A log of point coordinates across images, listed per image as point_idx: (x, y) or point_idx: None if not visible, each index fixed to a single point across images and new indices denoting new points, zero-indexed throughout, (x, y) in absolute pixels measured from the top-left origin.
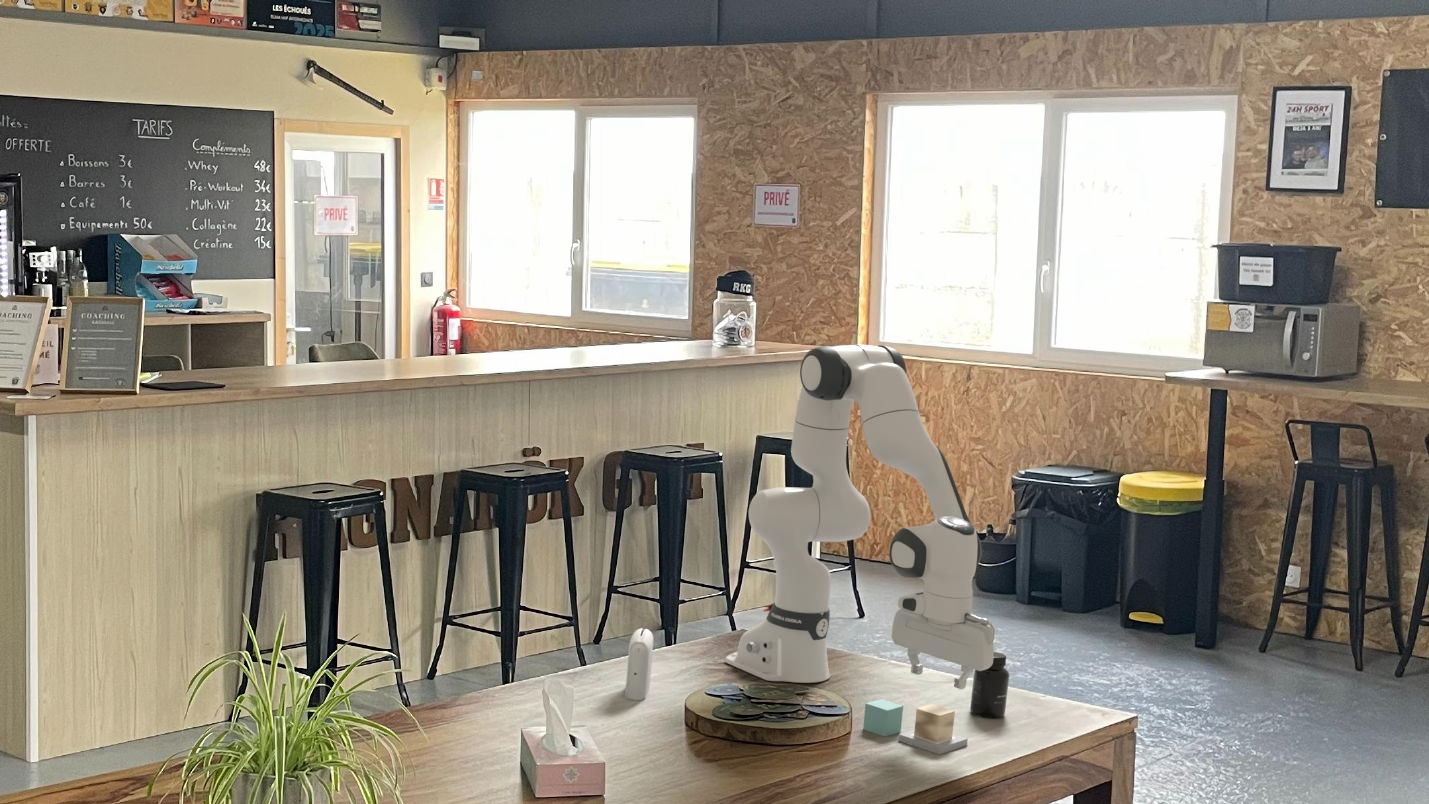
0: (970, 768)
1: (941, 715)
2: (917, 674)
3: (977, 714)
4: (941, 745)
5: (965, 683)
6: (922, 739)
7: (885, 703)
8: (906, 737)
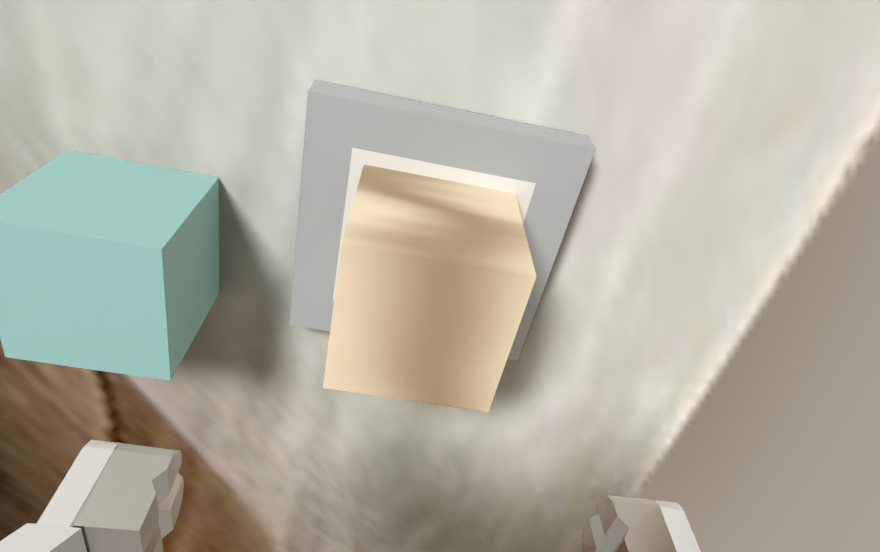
0: (668, 393)
1: (493, 396)
2: (179, 500)
3: None
4: None
5: (688, 541)
6: None
7: (63, 283)
8: None
